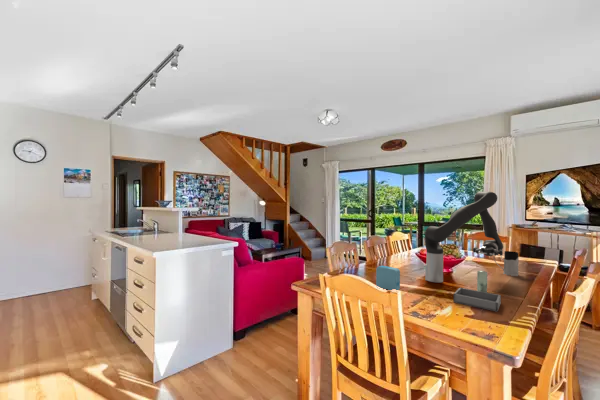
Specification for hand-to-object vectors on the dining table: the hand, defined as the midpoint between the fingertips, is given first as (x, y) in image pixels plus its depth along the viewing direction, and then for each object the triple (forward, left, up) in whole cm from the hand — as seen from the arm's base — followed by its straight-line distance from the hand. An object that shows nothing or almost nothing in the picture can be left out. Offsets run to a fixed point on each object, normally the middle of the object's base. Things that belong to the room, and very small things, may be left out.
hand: (486, 252), depth 158 cm
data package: (-41, -38, -20) cm, 59 cm away
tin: (0, -13, -20) cm, 24 cm away
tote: (0, -29, -20) cm, 35 cm away
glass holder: (+6, +48, -20) cm, 53 cm away
